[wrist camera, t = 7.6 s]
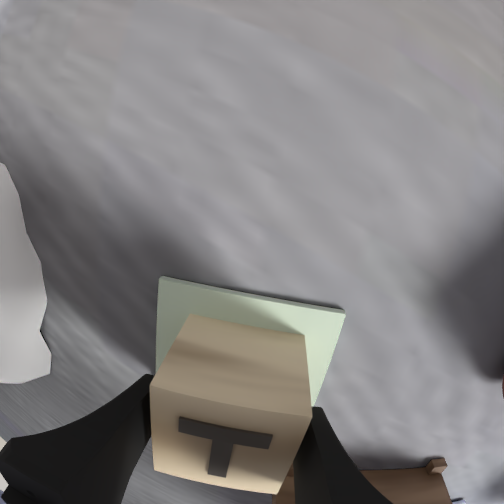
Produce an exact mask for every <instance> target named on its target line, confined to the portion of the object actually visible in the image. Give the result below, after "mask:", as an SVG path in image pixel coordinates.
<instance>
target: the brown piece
mask: <svg viewBox="0 0 504 504" xmlns="http://www.w3.org/2000/svg"><path fill="white" fill-rule="evenodd" d="M446 467H447V464H446V461H445V459H444V458H442V459H432V460H431V461H430V462H429V463H428V465H427V466H426V467H422V468H410V469H393V470H359V471H360V472H361V473H362V474H363V475H364V477H365V478H366V479H367V480H368V481H369V482H370V483H371V484H372V485H373V486H374V487H375V488H376V489H377V490H378V491H379V492H380V493H381V494H382V495H383V496H385V497H386V498H387V499H388V500H389V501H391V502H392V503H393V504H452V502H451V499H450V496H449V493H448V491H447V488H446V485H445V482H444V480H443V477H442V474H441V473H442V472H443V471H444V469H445V468H446ZM272 504H295V490H294V473H293V462H292V464H291V467H290V469H289V471H288V473H287V475H286V477H285V479H284V481H283V483H282V485H281V487H280V489H279V491H278V493H277V494H272Z"/></svg>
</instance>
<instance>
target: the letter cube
mask: <svg viewBox="0 0 504 504" xmlns="http://www.w3.org/2000/svg"><path fill="white" fill-rule="evenodd" d="M150 414H151V434H152V449H153V462H154V470H155V471H159V472H162V473H166V474H169V475H173V476H177V477H181V478H185V479H189V480H193V481H198V482H202V483H207V484H212V485H217V486H222V487H227V488H233V489H239V490H246V491H253V492H260V493H269V494H277V493H278V491H279V489H280V487H281V485H282V483H283V481H284V479H285V477H286V475H287V473H288V471H289V469H290V467H291V464H292V462H293V460H294V458H295V456H296V454H297V451H298V449H299V447H300V445H301V442H302V440H303V438H304V435H305V433H306V431H307V428H308V426H309V424H310V421H311V419H312V406H311V394H310V384H309V373H308V363H307V353H306V344H305V335H301V334H294V333H288V332H282V331H277V330H271V329H265V328H260V327H254V326H249V325H244V324H238V323H233V322H228V321H223V320H218V319H213V318H209V317H204V316H199V315H194V314H189V316H188V318H187V319H186V321H185V323H184V325H183V326H182V328H181V330H180V332H179V333H178V335H177V337H176V339H175V341H174V342H173V344H172V346H171V348H170V349H169V351H168V353H167V355H166V357H165V358H164V360H163V362H162V364H161V365H160V367H159V369H158V371H157V373H156V374H155V376H154V378H153V380H152V382H151V383H150Z"/></svg>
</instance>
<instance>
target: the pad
mask: <svg viewBox="0 0 504 504" xmlns="http://www.w3.org/2000/svg"><path fill="white" fill-rule="evenodd" d="M189 314H194V315H199V316H204V317H209V318H213V319H218V320H223V321H228V322H233V323H238V324H244V325H249V326H254V327H260V328H265V329H271V330H277V331H282V332H288V333H294V334H301V335H305V344H306V353H307V363H308V373H309V384H310V394H311V406H314V404H315V401H316V398H317V396H318V393H319V391H320V388H321V385H322V383H323V380H324V377H325V375H326V372H327V369H328V366H329V363H330V361H331V358H332V355H333V352H334V349H335V346H336V343H337V340H338V337H339V334H340V331H341V328H342V325H343V322H344V319H345V316H346V313H345V311H344V310H341V309H335V308H328V307H322V306H317V305H311V304H305V303H299V302H293V301H288V300H282V299H277V298H271V297H266V296H260V295H255V294H250V293H244V292H239V291H234V290H229V289H224V288H219V287H214V286H209V285H204V284H199V283H194V282H189V281H184V280H180V279H175V278H170V277H166V276H161V277H160V278H159V285H158V302H157V325H156V373H157V371H158V369H159V367H160V365H161V364H162V362H163V360H164V358H165V357H166V355H167V353H168V351H169V349H170V348H171V346H172V344H173V342H174V341H175V339H176V337H177V335H178V333H179V332H180V330H181V328H182V326H183V325H184V323H185V321H186V319H187V318H188V316H189Z"/></svg>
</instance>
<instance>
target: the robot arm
mask: <svg viewBox="0 0 504 504" xmlns="http://www.w3.org/2000/svg"><path fill="white" fill-rule="evenodd" d="M153 378H154V376H153V375H150V374H145V375H144V376H142V377H141V378H140V379H139V380H138V381H136V382H135V383H134V384H133V385H131V386H130V387H129V388H128V389H126V390H125V391H124V392H122V393H121V394H120V395H118V396H117V397H116V398H114V399H113V400H111V401H110V402H108V403H107V404H105V405H104V406H102V407H101V408H99V409H97V410H96V411H94V412H92V413H91V414H89V415H87V416H85V417H83V418H81V419H79V420H77V421H75V422H72V423H70V424H67V425H65V426H62V427H60V428H57V429H54V430H50V431H47V432H43V433H39V434H35V435H29V436H23V437H16V438H11V439H10V440H9V441H8V442H7V443H6V445H5V446H4V447H3V449H2V450H1V451H0V473H1V474H2V475H3V477H4V478H5V480H6V481H7V483H8V484H9V485H8V487H7V488H6V490H5V491H4V492H3V491H1V490H0V504H121V502H122V499H123V496H124V493H125V490H126V487H127V485H128V482H129V479H130V476H131V474H132V472H133V470H134V468H135V466H136V464H137V462H138V460H139V458H140V456H141V454H142V452H143V450H144V448H145V446H146V445H147V443H148V441H149V439H150V437H151V435H152V434H151V414H150V383H151V382H152V380H153ZM293 473H294V490H295V504H393V503H392V502H391V501H389V500H388V499H387V498H386V497H385V496H383V495H382V494H381V493H380V492H379V491H378V490H377V489H376V488H375V487H374V486H373V485H372V484H371V483H370V482H369V481H368V480H367V479H366V478H365V477H364V475H363V474H362V473H361V472H360V471H359V469H358V468H357V467H356V465H355V464H354V463H353V461H352V460H351V459H350V457H349V456H348V454H347V453H346V451H345V450H344V448H343V446H342V445H341V443H340V441H339V440H338V438H337V436H336V434H335V433H334V431H333V429H332V427H331V425H330V423H329V421H328V419H327V417H326V415H325V413H324V411H323V409H322V408H321V407H313V406H312V419H311V421H310V424H309V426H308V428H307V431H306V433H305V435H304V438H303V440H302V442H301V445H300V447H299V449H298V451H297V454H296V456H295V458H294V460H293ZM452 504H466V501H465V500H460V501H456V502H452Z"/></svg>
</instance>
